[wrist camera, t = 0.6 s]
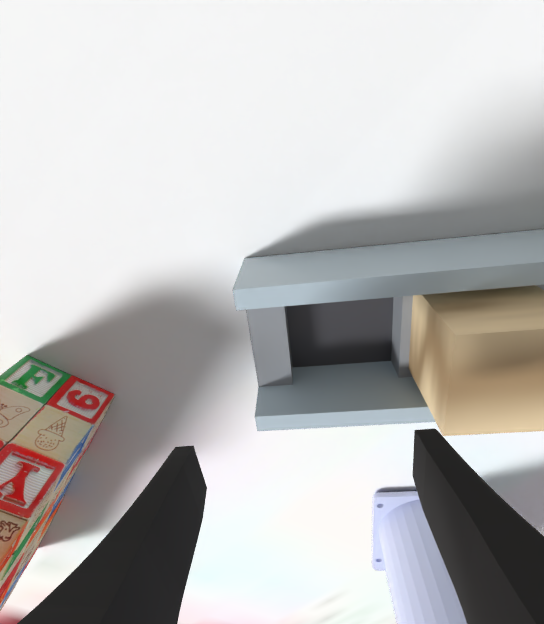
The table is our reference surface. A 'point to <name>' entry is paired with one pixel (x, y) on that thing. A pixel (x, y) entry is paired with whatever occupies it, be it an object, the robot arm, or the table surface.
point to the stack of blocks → (39, 454)
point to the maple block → (480, 359)
